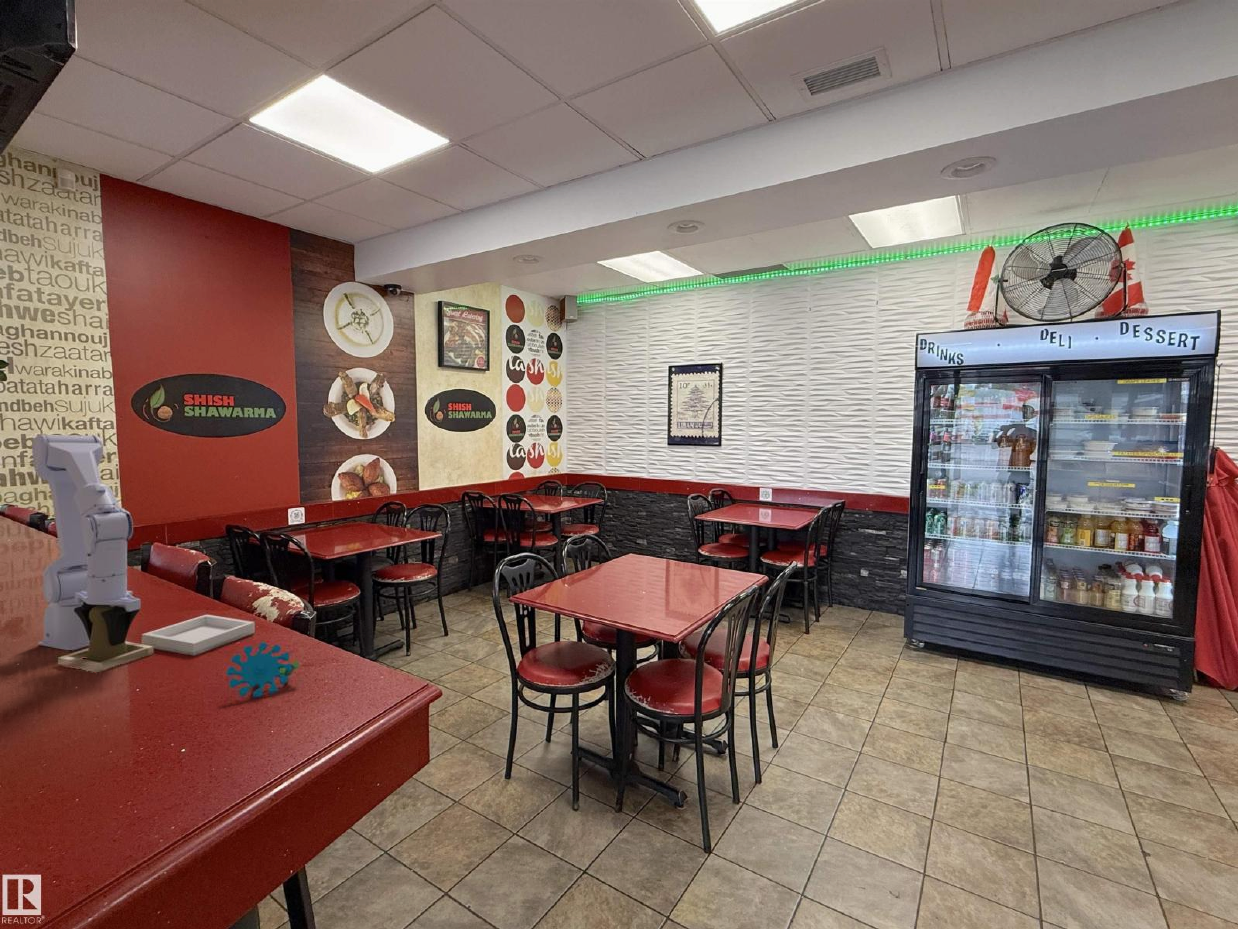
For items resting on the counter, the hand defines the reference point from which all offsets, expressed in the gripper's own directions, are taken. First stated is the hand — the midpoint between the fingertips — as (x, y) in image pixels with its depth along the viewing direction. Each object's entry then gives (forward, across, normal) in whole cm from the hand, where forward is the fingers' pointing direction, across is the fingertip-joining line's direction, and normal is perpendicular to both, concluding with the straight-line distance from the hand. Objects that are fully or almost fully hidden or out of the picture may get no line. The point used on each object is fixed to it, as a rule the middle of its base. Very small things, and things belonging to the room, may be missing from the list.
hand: (107, 642), depth 109 cm
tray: (+3, -6, -14) cm, 16 cm away
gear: (+4, -38, 0) cm, 38 cm away
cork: (+4, 0, 0) cm, 4 cm away
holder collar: (+3, 0, 0) cm, 3 cm away
